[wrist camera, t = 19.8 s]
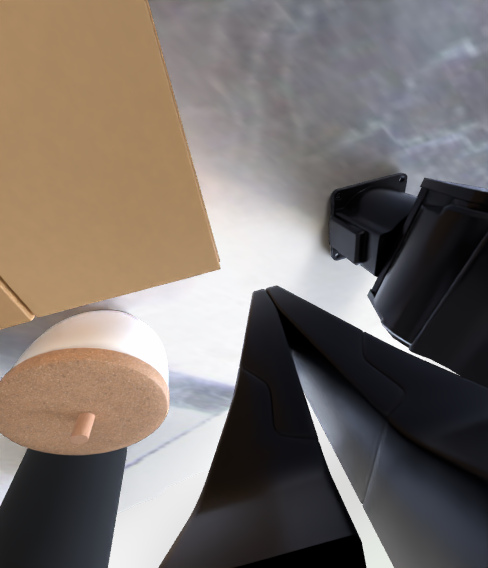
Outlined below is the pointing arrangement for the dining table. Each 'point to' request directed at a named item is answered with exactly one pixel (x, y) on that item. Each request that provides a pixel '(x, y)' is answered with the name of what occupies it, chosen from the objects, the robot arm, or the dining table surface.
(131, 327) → the trinket box
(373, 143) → the dining table surface
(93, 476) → the coffee jar
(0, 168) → the flap
